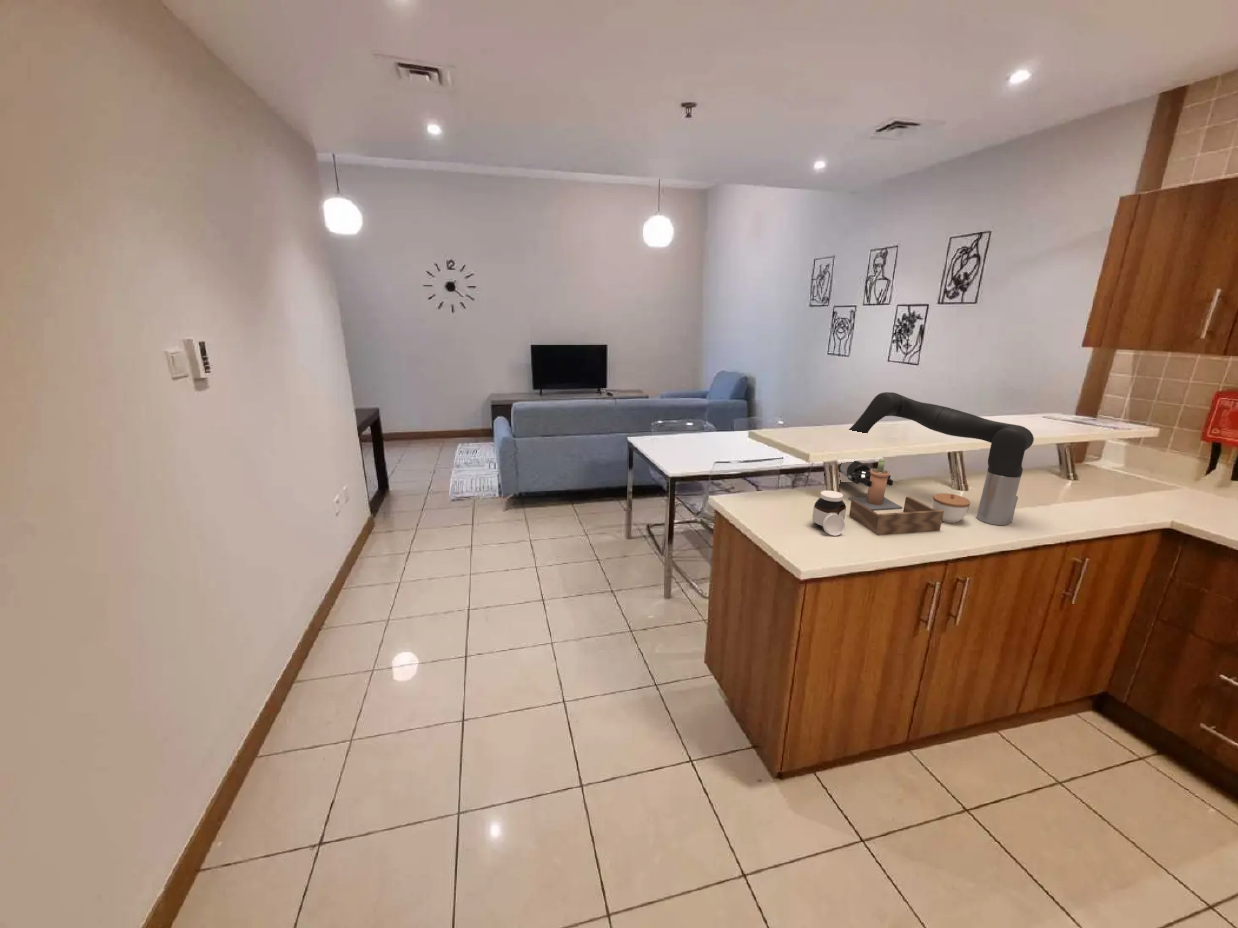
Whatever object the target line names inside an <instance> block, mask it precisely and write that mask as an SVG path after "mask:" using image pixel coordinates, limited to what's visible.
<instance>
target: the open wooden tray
mask: <svg viewBox="0 0 1238 928" xmlns="http://www.w3.org/2000/svg"><path fill="white" fill-rule="evenodd" d="M943 514H944V511H942V510H934V509H933V507H930V506H928V505H926V504H924V503H923V502H920V501H918V500H917V499H914V497H913V498H912V497H911V496H905V499H904V505H903V511H902V512H901V511H900V512H891V513H890V512H888V513H877V512H875V511H872V510H871V509H869V508H867V507H866V506H864V505H862V504H861V503H859V502H857V501H856V500H850V507H849V514H848V516H849V517H850V518H851V519H854V521H856V522H858V524H861V525H862V526H863V527H865V528H867V529H868V530H870V531H871V532H872V533H874V534H875V535H876V536H884V535H885V536H889V535H901V534H914V533H917V534H918V533H926V532H927V533H928V532H929V533H930V532H940V531H941V526H942V522H943V521H942V518H943Z"/></svg>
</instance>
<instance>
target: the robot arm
mask: <svg viewBox="0 0 1238 928" xmlns="http://www.w3.org/2000/svg"><path fill="white" fill-rule="evenodd" d="M885 417H896V418H897V417H898V418H903V419H907V420H910V421H913V422H915V423H917V424H919V425H921V426H922V427H925V428H927V429H929V430H932V431H934V432H937V433H940V434H944V435H948V436H952V437H959V438H965V439H967V438H968V439H976V440H981V441H984V442H987V443H990V448H989V453H988V458H987V465H988V466H987V471H986V476H985V478H984V479H985V480H984V484H983V488H982V493H981V496H980V500H979V504H978V509H977V513H976V518H977V520H979V521H980V522H981V521H982V522H983V523H987V524H990V525H994V526H996V525H997V526H1007V525H1009V524H1010V523H1013V519H1014V514H1015V511H1016V507H1017V503H1018V499H1019V497H1018V496H1017V493H1018V490H1019V486H1020V483H1021V482H1020V481H1021V478H1022V474H1023V470H1024V468H1023V462H1024V461H1023V460H1024V457H1025V456H1024V455H1025V452H1026V451H1027V450H1028V449H1030V448H1031V446H1032V445H1033V444H1034V440H1035V438H1034V434H1033V433H1032V431H1030V430H1029V428H1027V427H1025V426H1022V425H1018V424H1013V423H1007V422H1006V423H1005V422H1000V421H996V420H990V419H987V418H983V417H981V416H978V415H975V414H973V413H968V412H966V411H965V412H964V411H961V410H959V409H956V408H955V409H954V408H951V407H948V406H943V405H939V404H933V403H928V402H921V401H917V400H914V399H913V398H909V397H906V396H904V395H902V394H899V393H897V392H887V391H885V392H880V393H879V394H877V395H876V396H874V398H873V399H872V400H871V401H870V403H869V404H868V406H867V407H866V409H865V410H864V412H863V413H862V414H861V415H860V416H859V418H858V419H857V420H856V421H855V422H854V424H852V425H851V427H850V428H848V430H852V431H857V432H862V433H867V434H868V433H869V432H870V430H871V429H872V428H873V427H874V425H876V424H877V423H878V422H879V421H881V420H882V419H884V418H885ZM870 470H871V468H870V467H869V466H868V465H867V464H865V463H863V462H861V461H859V460H857V461H854V462H846V463H841V464H840V467H839V471H838V472H839V473H840V474H842V475H843V476H845V477H846V478H847V479H848V480H849V481H850V482H852V483H854V484H856V485H857V484H860V485H864V486H866V487H868V488H869V487H871V485H872V481H870V476H871V474H870ZM893 483H894V480H893V479H892V478H891V475H890V474H889V477H888V478H887V484H886V486H890V487H892V486H893Z"/></svg>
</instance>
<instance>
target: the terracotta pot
mask: <svg viewBox="0 0 1238 928" xmlns="http://www.w3.org/2000/svg"><path fill="white" fill-rule="evenodd" d="M885 462H886V461H885V459H884V458H879V459H878V463H877V467H876V468H870V474H871V476H870V481H872V485H871V487H868V489H867V495H866V496H867V500H866V501H867V502H868V503H870V504H874V505H882V504H883V500H884V497H885V494H886V487H887V478H888V477H889V475H890V474H891V473H890V471H888V470H887V469H884V468H885Z"/></svg>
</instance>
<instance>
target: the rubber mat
mask: <svg viewBox="0 0 1238 928" xmlns="http://www.w3.org/2000/svg"><path fill="white" fill-rule="evenodd" d="M847 499H848V500H849V501H851V500H856V501H857V502H859V503H861V504H862V505H864V506H866V507H867V508H869V509H871V510H872V511H874V512H875V511H887V510H902V509H903V506H901V505H900V504H897V503H895V502H894V501H892V500H890V499H888V498H887V497H885V496H884V500H883V504H882V505H874V504H870V503H868V502H867V501H866V500H867V495H866V496H851V497H850V496H849V497H847Z"/></svg>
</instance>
